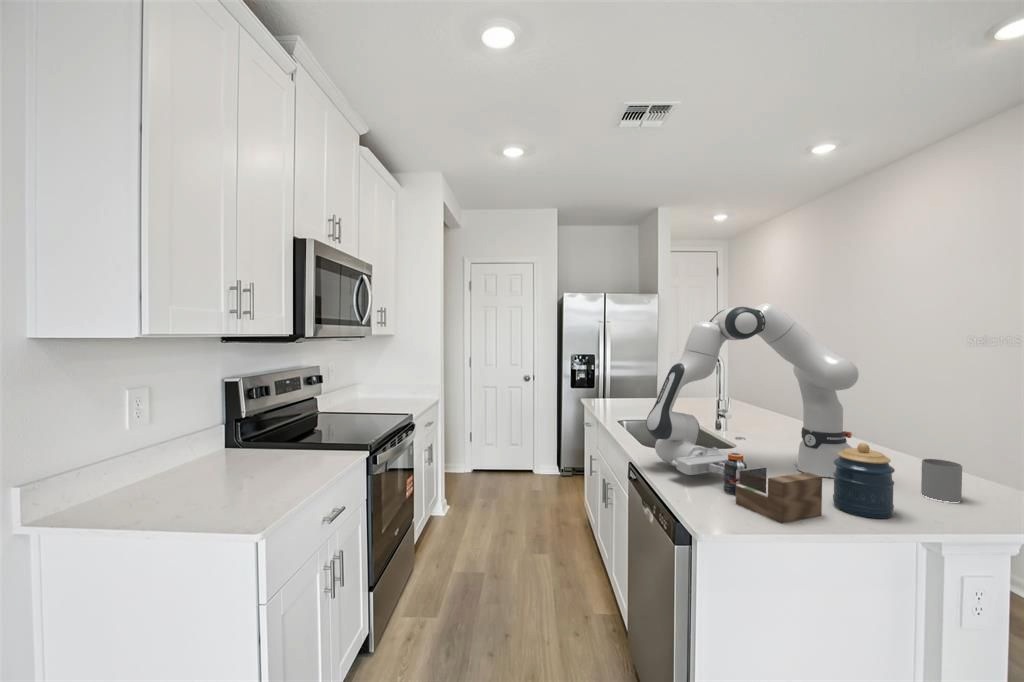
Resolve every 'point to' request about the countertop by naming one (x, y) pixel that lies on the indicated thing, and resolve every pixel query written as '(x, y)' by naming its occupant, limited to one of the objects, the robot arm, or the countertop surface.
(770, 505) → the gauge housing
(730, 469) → the pill bottle
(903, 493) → the countertop surface
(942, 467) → the cup
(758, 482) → the brushed metal plate
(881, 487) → the canister
